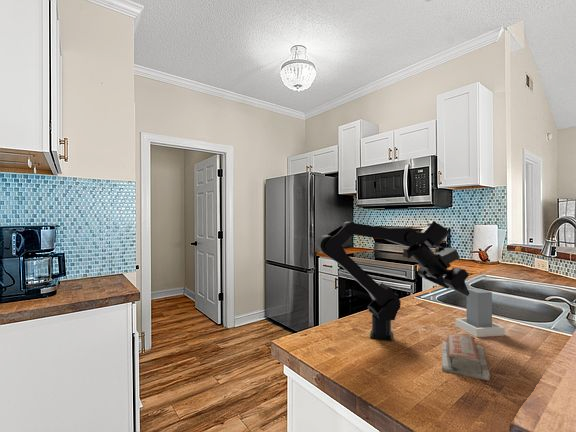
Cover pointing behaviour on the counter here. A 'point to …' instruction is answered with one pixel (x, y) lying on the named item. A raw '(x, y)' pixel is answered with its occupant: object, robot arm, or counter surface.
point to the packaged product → (464, 357)
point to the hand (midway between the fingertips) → (458, 291)
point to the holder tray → (480, 329)
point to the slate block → (479, 308)
